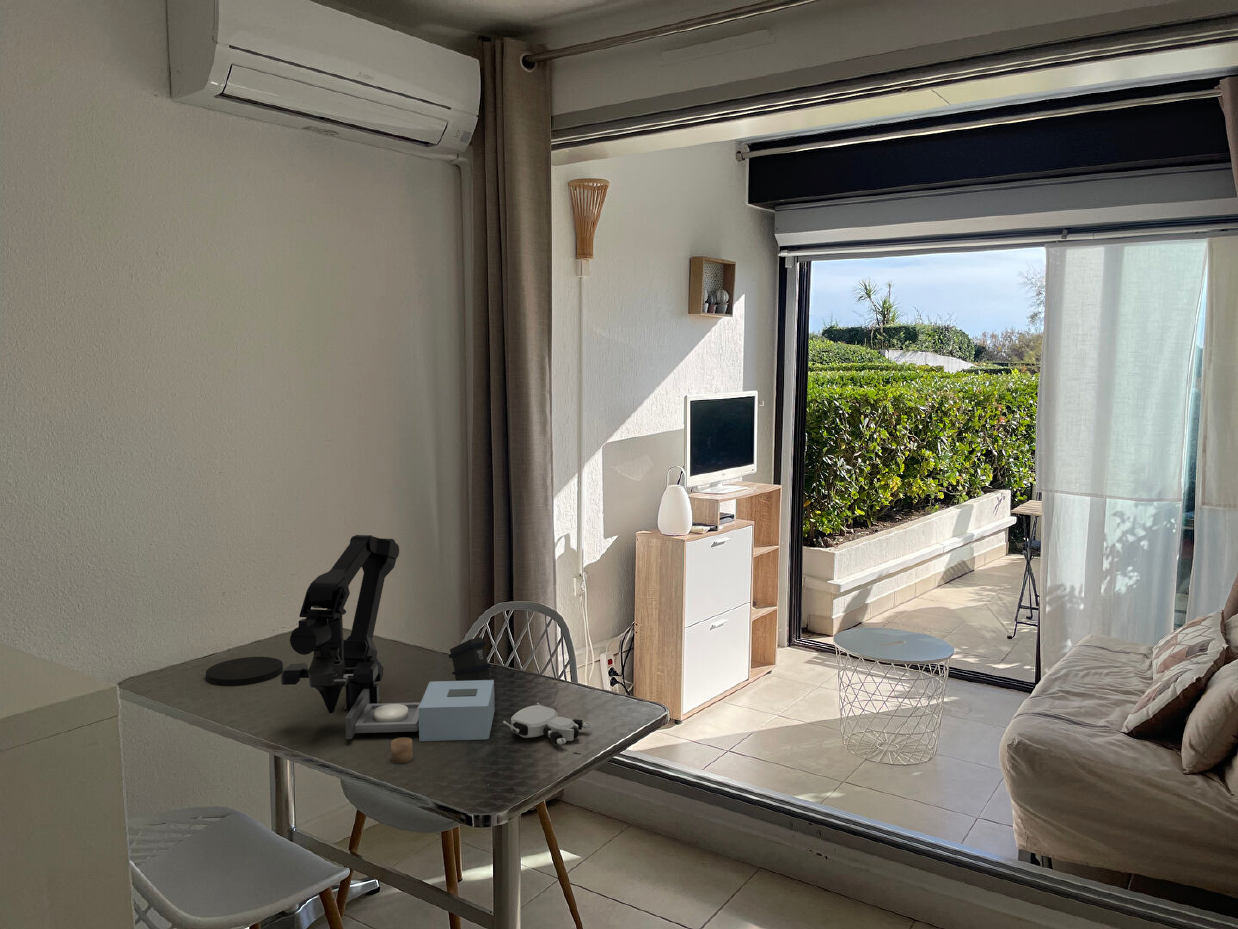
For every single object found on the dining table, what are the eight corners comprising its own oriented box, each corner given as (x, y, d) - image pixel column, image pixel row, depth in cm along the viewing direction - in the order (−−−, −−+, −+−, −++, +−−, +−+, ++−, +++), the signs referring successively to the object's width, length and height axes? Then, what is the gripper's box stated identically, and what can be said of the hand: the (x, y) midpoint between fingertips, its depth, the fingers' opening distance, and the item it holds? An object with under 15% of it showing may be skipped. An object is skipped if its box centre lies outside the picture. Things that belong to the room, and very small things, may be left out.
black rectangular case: (486, 705, 203) (469, 639, 207) (459, 715, 213) (443, 652, 217) (501, 701, 206) (484, 636, 209) (473, 711, 216) (457, 648, 219)
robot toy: (593, 737, 193) (533, 719, 200) (594, 716, 192) (534, 699, 199) (561, 758, 182) (499, 738, 189) (562, 736, 181) (500, 717, 189)
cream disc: (370, 724, 192) (370, 716, 192) (377, 711, 199) (377, 704, 199) (405, 723, 192) (404, 715, 192) (410, 710, 199) (410, 703, 199)
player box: (419, 741, 188) (418, 707, 188) (430, 712, 204) (429, 680, 203) (488, 739, 189) (488, 705, 188) (494, 710, 205) (493, 679, 204)
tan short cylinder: (389, 763, 178) (389, 746, 177) (393, 755, 182) (392, 737, 181) (410, 763, 178) (410, 745, 177) (414, 754, 182) (413, 737, 181)
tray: (345, 738, 187) (345, 718, 186) (364, 708, 204) (363, 689, 203) (415, 736, 187) (415, 716, 187) (428, 706, 205) (427, 687, 204)
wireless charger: (298, 671, 234) (297, 664, 234) (235, 692, 219) (235, 684, 219) (253, 660, 243) (253, 652, 243) (190, 679, 228) (190, 671, 228)
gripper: (271, 653, 185) (274, 728, 186) (366, 650, 186) (368, 726, 187) (287, 637, 196) (290, 708, 197) (377, 635, 197) (379, 706, 198)
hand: (331, 712), depth 195 cm, fingers closed
